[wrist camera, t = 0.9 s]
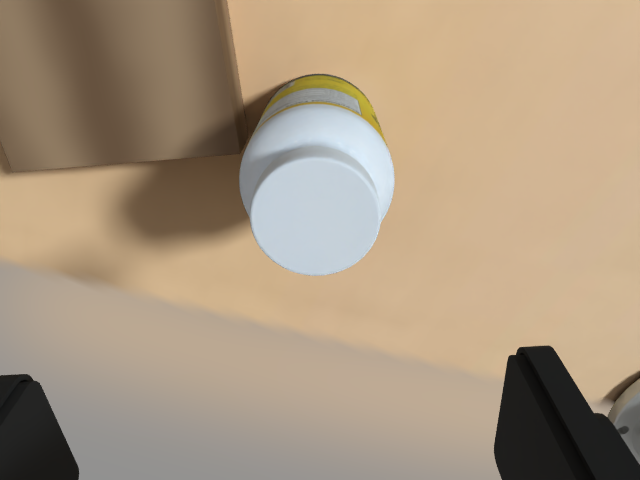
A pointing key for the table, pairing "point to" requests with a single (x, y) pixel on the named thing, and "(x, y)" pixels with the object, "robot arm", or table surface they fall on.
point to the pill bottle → (317, 176)
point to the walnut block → (117, 82)
